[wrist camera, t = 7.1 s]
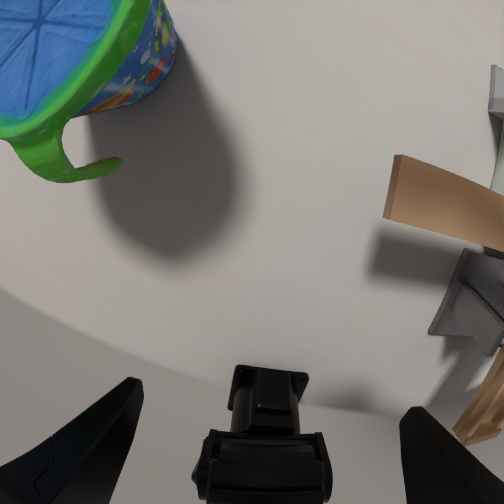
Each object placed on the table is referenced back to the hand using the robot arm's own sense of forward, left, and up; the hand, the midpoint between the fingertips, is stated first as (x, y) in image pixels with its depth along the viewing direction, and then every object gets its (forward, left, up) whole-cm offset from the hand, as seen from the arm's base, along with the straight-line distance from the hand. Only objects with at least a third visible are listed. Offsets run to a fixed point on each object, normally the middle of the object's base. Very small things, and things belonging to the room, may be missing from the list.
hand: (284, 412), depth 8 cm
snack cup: (+12, +12, -13) cm, 22 cm away
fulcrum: (-1, -20, -13) cm, 24 cm away
